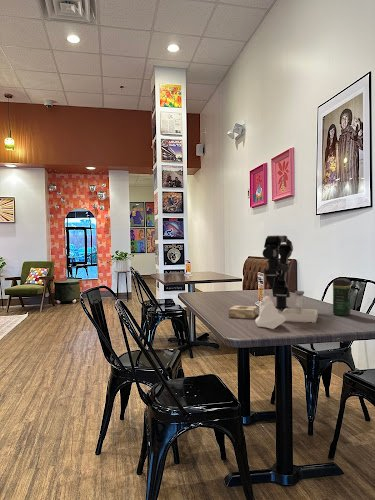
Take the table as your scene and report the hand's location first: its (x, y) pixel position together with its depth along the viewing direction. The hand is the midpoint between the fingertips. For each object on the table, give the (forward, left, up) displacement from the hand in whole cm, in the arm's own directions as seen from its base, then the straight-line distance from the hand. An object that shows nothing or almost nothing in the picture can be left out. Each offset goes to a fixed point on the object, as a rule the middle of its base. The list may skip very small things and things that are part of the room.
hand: (273, 287), depth 199 cm
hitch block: (+15, -13, -13) cm, 24 cm away
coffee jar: (-3, +34, -13) cm, 36 cm away
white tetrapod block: (+35, +4, -13) cm, 37 cm away
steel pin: (+15, +15, -12) cm, 24 cm away
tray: (+15, +15, -13) cm, 25 cm away
